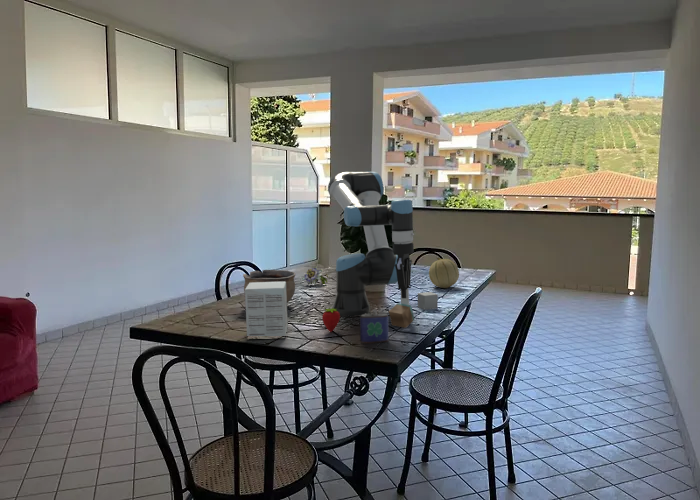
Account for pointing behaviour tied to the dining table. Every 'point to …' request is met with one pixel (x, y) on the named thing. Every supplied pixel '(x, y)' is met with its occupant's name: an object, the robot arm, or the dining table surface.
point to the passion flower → (314, 276)
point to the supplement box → (266, 309)
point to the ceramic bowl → (273, 279)
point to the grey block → (427, 300)
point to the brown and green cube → (401, 315)
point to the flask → (374, 328)
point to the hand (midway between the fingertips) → (405, 306)
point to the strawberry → (331, 318)
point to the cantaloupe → (443, 273)
